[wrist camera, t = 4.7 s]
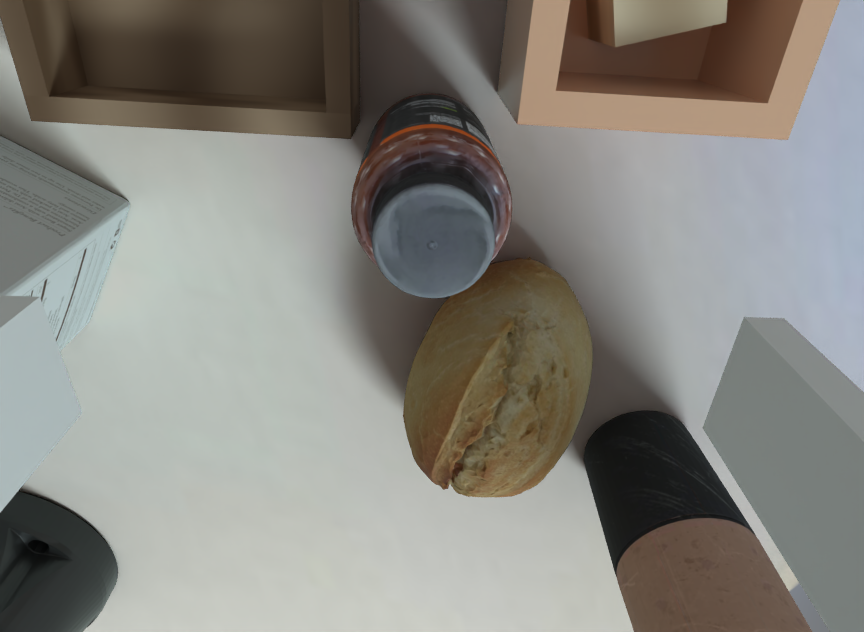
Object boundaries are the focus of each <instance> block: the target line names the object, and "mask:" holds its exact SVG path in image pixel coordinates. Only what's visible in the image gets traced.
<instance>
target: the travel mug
mask: <svg viewBox="0 0 864 632" xmlns="http://www.w3.org/2000/svg"><path fill="white" fill-rule="evenodd" d="M584 462H585V466H586V471H587V475H588V478H589V482H590V486H591V489H592V493H593V496H594V500H595V503H596V507H597V511H598V514H599V518H600V521H601V525H602V528H603V532H604V535H605V539H606V542H607V546H608V549H609V553H610V556H611V560H612V564H613V567H614V571H615V574H616V577H617V580H618V584H619V587H620V590H621V593H622V596H623V599H624V602H625V605H626V608H627V611H628V614H629V617H630V620H631V624H632V627H633V630H634V632H812V631H811V629H810V627H809V625H808V624H807V622H806V620H805V618H804V617H803V615H802V613H801V612H800V610H799V608H798V606H797V605H796V603H795V601H794V600H793V598H792V596H791V594H790V593H789V591H788V589H787V588H786V586H785V584H784V582H783V581H782V579H781V577H780V576H779V574H778V572H777V571H776V569H775V567H774V565H773V564H772V562H771V560H770V559H769V557H768V555H767V553H766V552H765V550H764V548H763V547H762V545H761V543H760V541H759V540H758V539H757V537H756V535H755V533H754V532H753V530H752V529H751V527H750V526H749V524H748V522H747V521H746V519H745V518H744V516H743V515H742V513H741V512H740V510H739V508H738V507H737V505H736V504H735V502H734V501H733V499H732V498H731V496H730V495H729V493H728V491H727V490H726V488H725V487H724V485H723V484H722V482H721V481H720V479H719V477H718V476H717V474H716V473H715V471H714V470H713V468H712V467H711V465H710V463H709V462H708V460H707V459H706V457H705V456H704V454H703V453H702V451H701V449H700V448H699V446H698V445H697V443H696V442H695V440H694V439H693V437H692V436H691V434H690V433H689V432H688V430H687V429H686V428H685V426H684V425H683V424H682V423H681V422H680V421H678V420H677V419H675V418H674V417H672V416H670V415H668V414H664V413H661V412H656V411H638V412H632V413H627V414H624V415H621V416H619V417H616V418H614V419H612V420H610V421H608V422H607V423H605V424H604V425H602V426H601V427H600V428H599V429H598V430H597V431H596V432H595V433H594V434H593V435H592V437H591V438H590V439H589V441H588V443H587V445H586V448H585V454H584Z"/></svg>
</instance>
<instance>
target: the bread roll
mask: <svg viewBox="0 0 864 632" xmlns="http://www.w3.org/2000/svg"><path fill="white" fill-rule="evenodd" d="M592 363H593V354H592V340H591V335H590V331H589V327H588V323H587V320H586V318H585V316H584V313H583V311H582V308H581V306H580V304H579V302H578V301H577V298H576V296H575V294H574V292H573V291H572V289H571V288H570V287H569V285H568V283H567V281H566V280H565V279H564V278H563V277H562V276H561V275H560V274H559V273H557V272H556V271H554V270H552V269H551V268H549V267H547V266H546V265H544V264H543V263H540V262H537V261H535V260H531V258H530V257H529V258H526V259H522V258H518V259H515V260H509V261H503V262H498V263H494V264H490V265H489V266H488V268H487V269H486V271H485V272H484V273H483V275H482V276H481V277H480V278H479V279H478V280H477V281H476V282H475V283H474V284H473V285H472V286H470V287H469V288H467V289H466V290H464V291H462V292H459V293H457V294H454V295H452V296H450V297H449V298H448V299H447V300H446V301H445V302H444V303H443V305H442V306H441V308H440V309H439V310H438V312H437V313H436V315H435V317H434V319H433V321H432V323H431V325H430V327H429V329H428V331H427V333H426V335H425V337H424V339H423V341H422V343H421V345H420V347H419V349H418V351H417V354H416V356H415V358H414V361H413V364H412V367H411V371H410V374H409V378H408V382H407V387H406V393H405V400H404V413H403V418H404V423H405V428H406V433H407V437H408V441H409V444H410V447H411V450H412V454H413V457H414V459H415V461H416V463H417V465H418V466H419V467H420V469H421V470H422V471H423V472H424V473H425V474H426V475H427V477H428V478H429V479H430V480H431V481H432V482H433V483H435V484H437V485H440V486H441V487H442V489H443V490H444V489H448V486H449V484H451V486H452V487H453V489H454V490H455V491H456V492H457V493H459V494H462V495H465V496H468V497H469V496H473V497H507V496H514V495H517V494H520V493H522V492H523V491H526V490H528V489H531V488H532V487H534V486H536V485H537V484H538V483H539V482H541V481H542V480H543V479H544V477H545V476H546V475H547V474H548V473H549V472H550V470H551V469H552V468H553V467H554V466H555V464H556V463H557V461H558V460H559V459H560V457H561V456H562V454H563V453H564V452H565V450H566V449H567V447H568V445H569V443H570V442H571V440H572V438H573V435H574V433H575V431H576V428H577V426H578V423H579V421H580V419H581V416H582V414H583V410H584V407H585V404H586V400H587V396H588V391H589V386H590V380H591V373H592Z"/></svg>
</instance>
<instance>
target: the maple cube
mask: <svg viewBox="0 0 864 632" xmlns="http://www.w3.org/2000/svg"><path fill="white" fill-rule="evenodd" d="M586 6H587V23H588V39H590V40H593V41H596V42H600V43H603V44H606V45H609V46H612V47H619V46H623V45H628V44H632V43H637V42H641V41H646V40H650V39H655V38H659V37H664V36H668V35H672V34H677V33H681V32H686V31H690V30H695V29H699V28H704V27H708V26H713V25H717V24H722V23H726V19H727V0H586Z"/></svg>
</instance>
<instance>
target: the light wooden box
mask: <svg viewBox="0 0 864 632" xmlns="http://www.w3.org/2000/svg"><path fill="white" fill-rule="evenodd" d="M839 1H840V0H727V19H726V23H722V24H717V25H713V26H708V27H704V28H699V29H695V30H690V31H686V32H681V33H677V34H672V35H668V36H664V37H659V38H655V39H650V40H646V41H641V42H637V43H632V44H628V45H623V46H619V47H612V46H609V45H606V44H603V43H600V42H596V41H593V40H590V39H588V23H587V6H586V0H508V1H507V10H506V19H505V28H504V37H503V46H502V56H501V65H500V74H499V83H498V92H497V94H498V95H499V97H500V99H501V100H502V102H503V103H504V105H505V106H506V108H507V109H508V111H509V112H510V114H511V115H512V117H513V118H514V120H515V121H516V123H517V124H522V125H540V126H557V127H574V128H591V129H609V130H626V131H643V132H661V133H678V134H695V135H713V136H730V137H747V138H765V139H782V140H788V138H789V135H790V133H791V130H792V127H793V125H794V122H795V119H796V117H797V114H798V111H799V109H800V106H801V103H802V101H803V98H804V95H805V93H806V90H807V87H808V85H809V82H810V79H811V76H812V74H813V71H814V68H815V66H816V63H817V60H818V58H819V55H820V52H821V50H822V47H823V44H824V42H825V39H826V36H827V34H828V31H829V28H830V26H831V23H832V20H833V18H834V15H835V12H836V10H837V7H838V4H839Z"/></svg>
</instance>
